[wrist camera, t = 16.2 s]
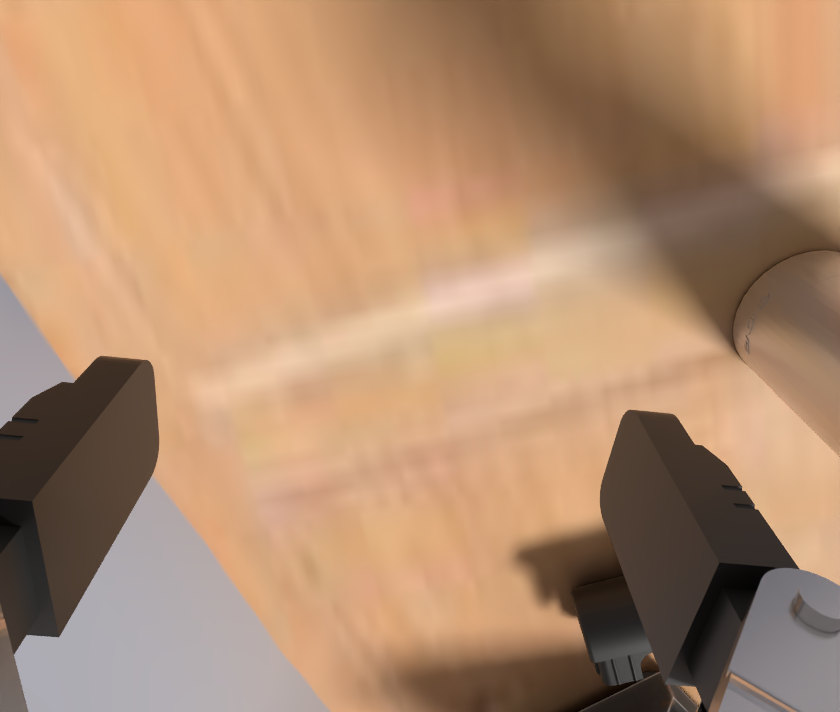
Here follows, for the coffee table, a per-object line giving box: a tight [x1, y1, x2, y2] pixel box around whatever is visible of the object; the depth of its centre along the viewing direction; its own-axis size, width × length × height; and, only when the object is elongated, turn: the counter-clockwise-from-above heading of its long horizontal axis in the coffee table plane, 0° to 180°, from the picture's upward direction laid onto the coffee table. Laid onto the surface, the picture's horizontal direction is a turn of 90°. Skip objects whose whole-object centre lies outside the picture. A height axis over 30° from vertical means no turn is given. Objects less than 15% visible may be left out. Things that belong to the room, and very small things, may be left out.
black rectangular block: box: [570, 576, 652, 686], centre depth 51 cm, size 10×7×7 cm
